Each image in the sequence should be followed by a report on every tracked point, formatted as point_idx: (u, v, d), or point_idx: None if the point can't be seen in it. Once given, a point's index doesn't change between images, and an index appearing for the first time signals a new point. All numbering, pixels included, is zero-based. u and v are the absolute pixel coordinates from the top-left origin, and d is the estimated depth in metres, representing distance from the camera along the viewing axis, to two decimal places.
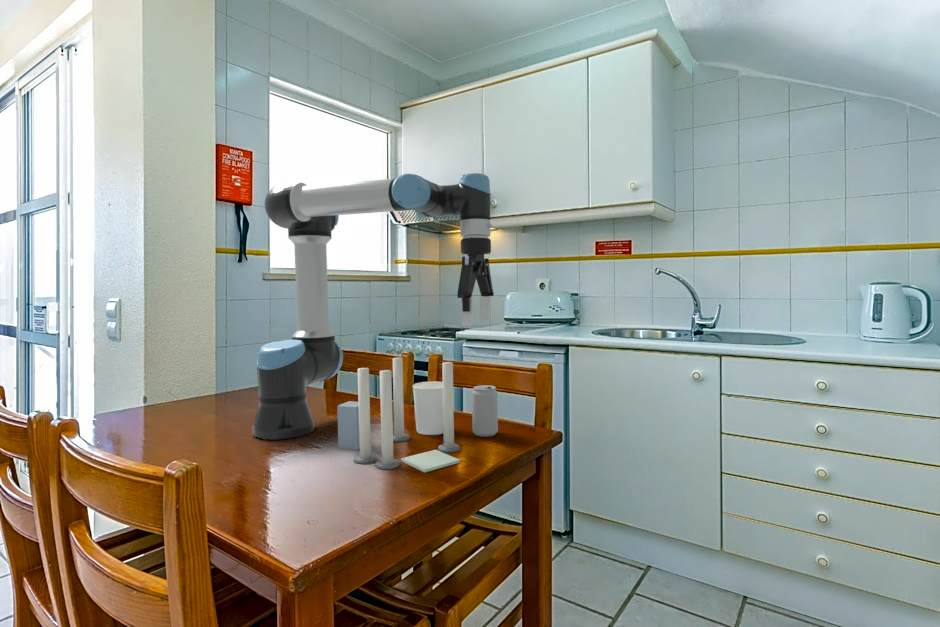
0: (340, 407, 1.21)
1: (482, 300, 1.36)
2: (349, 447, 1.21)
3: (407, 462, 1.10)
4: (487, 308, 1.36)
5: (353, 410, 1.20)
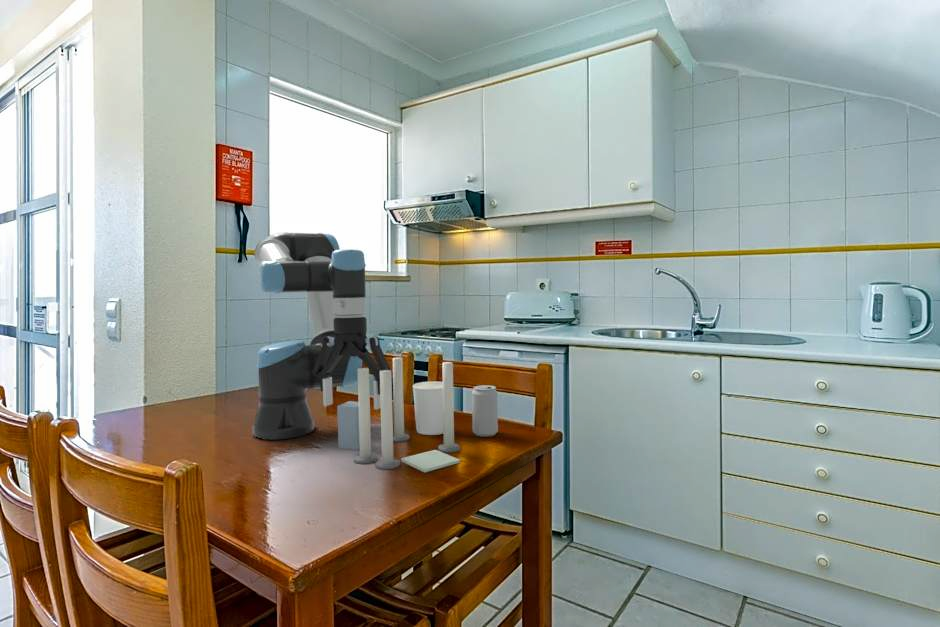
0: (340, 407, 1.21)
1: None
2: (349, 447, 1.21)
3: (407, 462, 1.10)
4: None
5: (353, 410, 1.20)
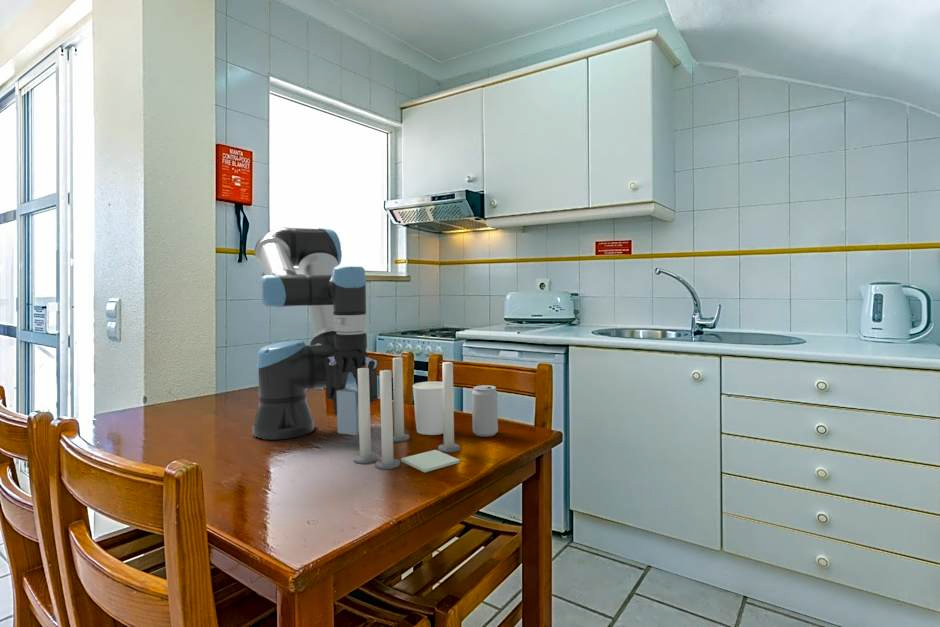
0: (339, 392, 1.21)
1: None
2: (348, 432, 1.21)
3: (407, 462, 1.10)
4: None
5: (352, 396, 1.20)
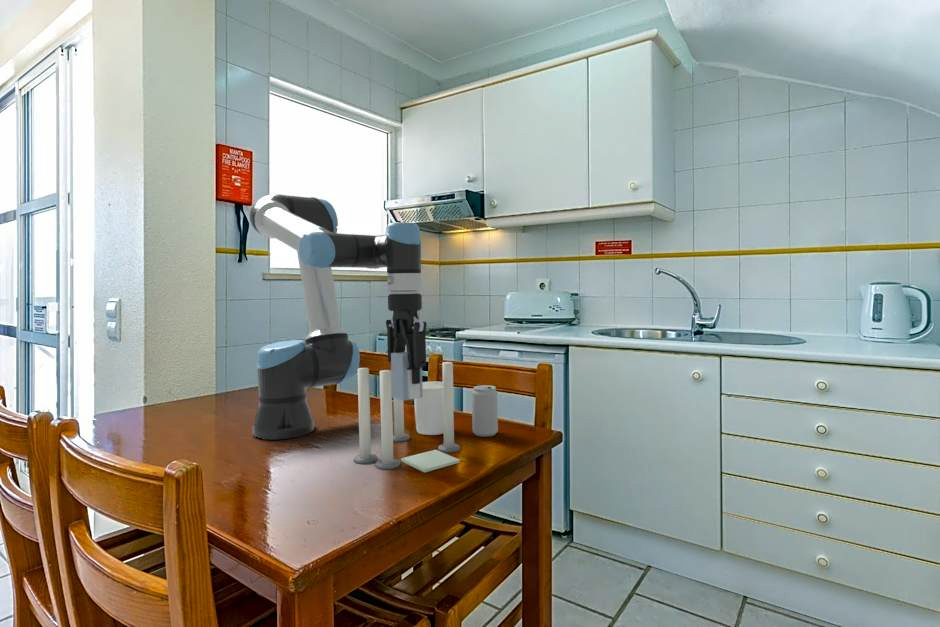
0: (392, 355, 1.17)
1: None
2: (398, 397, 1.15)
3: (407, 462, 1.10)
4: None
5: (400, 358, 1.14)
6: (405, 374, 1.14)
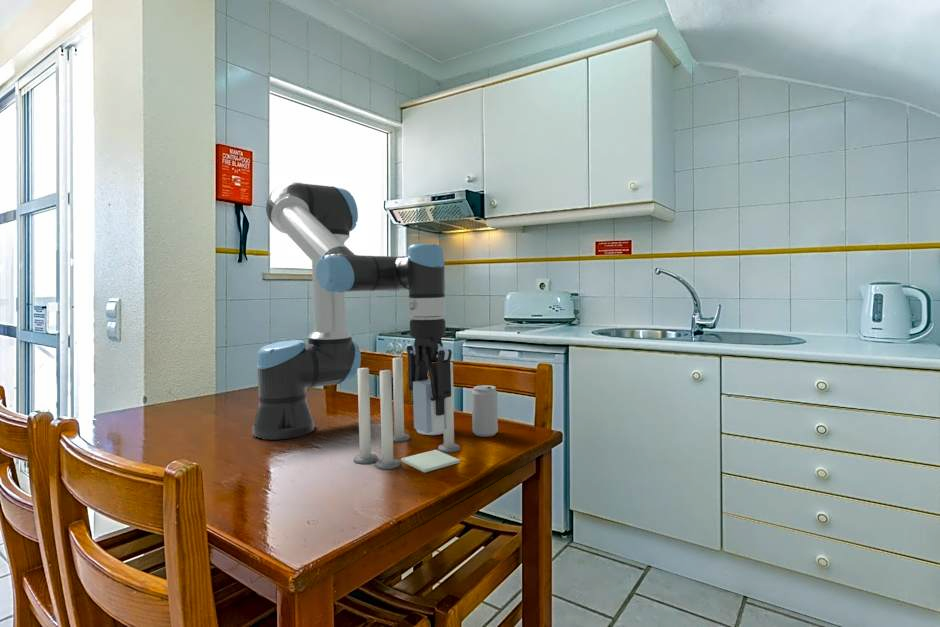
0: (414, 383, 1.10)
1: None
2: (421, 429, 1.09)
3: (407, 462, 1.10)
4: None
5: (423, 388, 1.07)
6: (429, 405, 1.07)
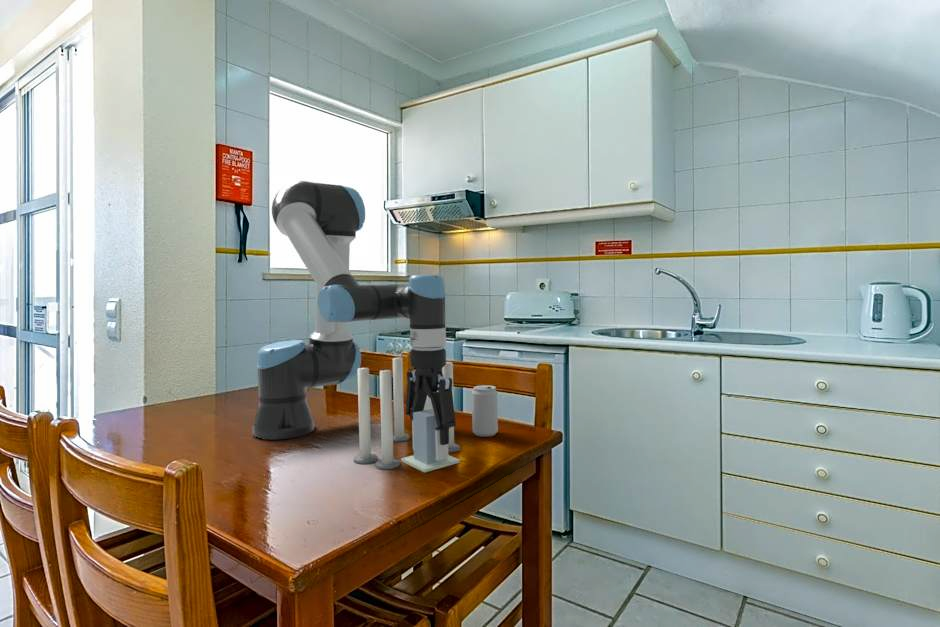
0: (415, 414, 1.10)
1: None
2: (421, 460, 1.09)
3: (407, 462, 1.10)
4: None
5: (424, 420, 1.08)
6: (429, 436, 1.08)
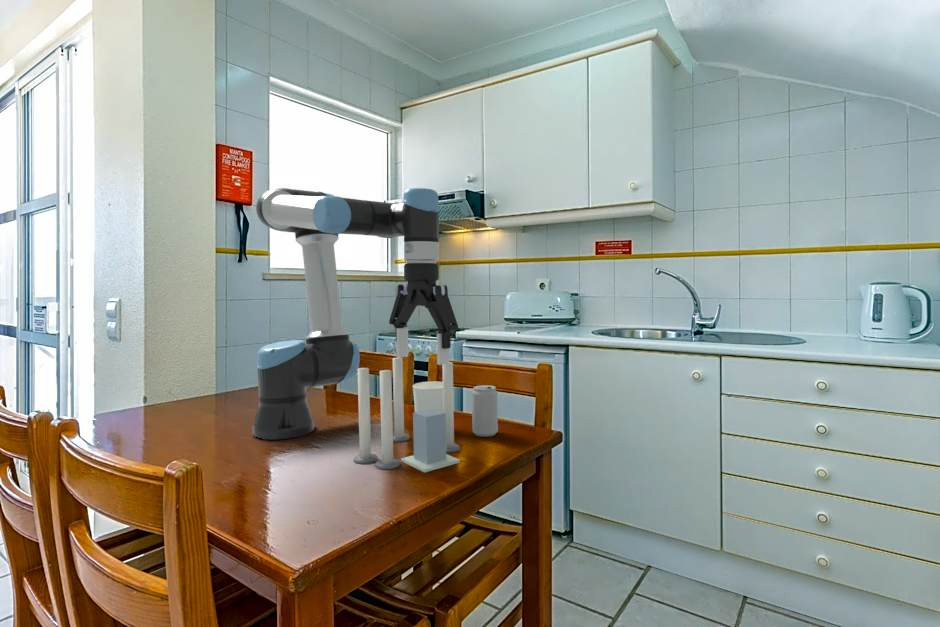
0: (415, 414, 1.10)
1: None
2: (421, 460, 1.09)
3: (407, 462, 1.10)
4: None
5: (424, 420, 1.08)
6: (429, 436, 1.08)
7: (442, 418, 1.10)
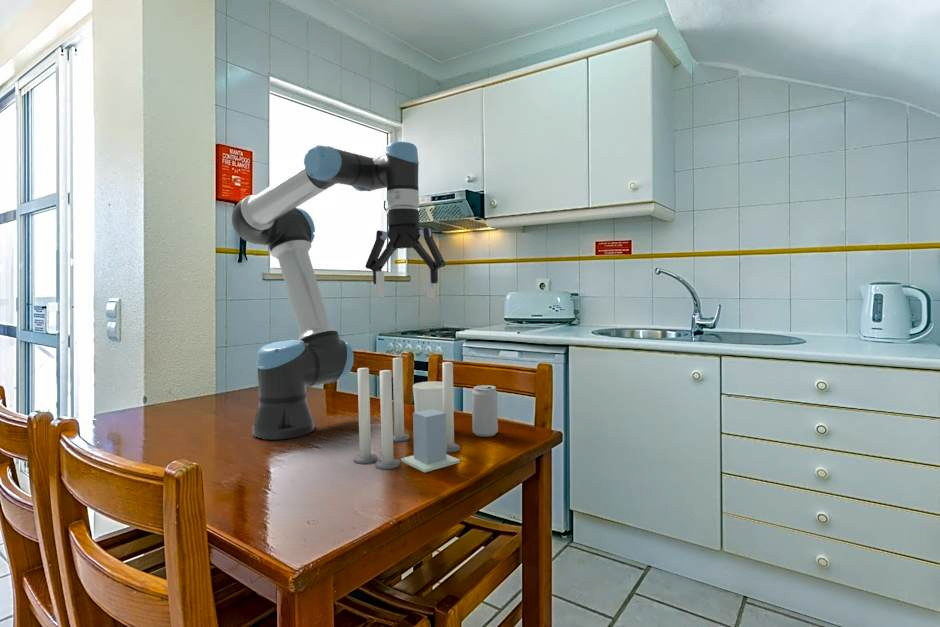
0: (415, 414, 1.10)
1: None
2: (421, 460, 1.09)
3: (407, 462, 1.10)
4: None
5: (424, 420, 1.08)
6: (429, 436, 1.08)
7: (442, 418, 1.10)
